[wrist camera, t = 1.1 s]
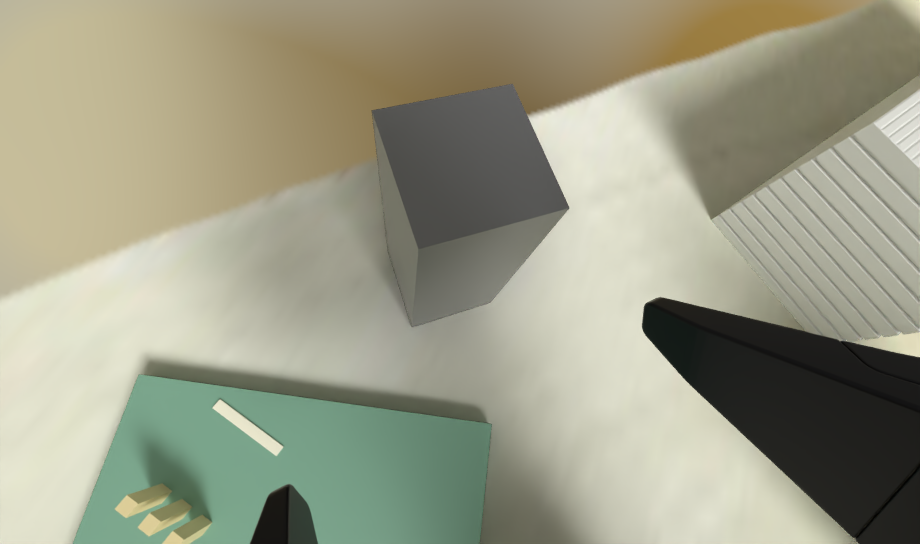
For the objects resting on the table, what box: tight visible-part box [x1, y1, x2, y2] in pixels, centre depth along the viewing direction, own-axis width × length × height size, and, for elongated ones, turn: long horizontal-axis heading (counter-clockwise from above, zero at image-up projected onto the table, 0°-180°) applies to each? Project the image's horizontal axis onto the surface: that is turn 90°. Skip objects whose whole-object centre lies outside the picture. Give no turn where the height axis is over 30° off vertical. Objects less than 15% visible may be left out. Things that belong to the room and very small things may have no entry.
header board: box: [73, 375, 492, 544], centre depth 18 cm, size 18×11×4 cm, turn 82°
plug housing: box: [372, 84, 569, 327], centre depth 19 cm, size 5×5×12 cm
